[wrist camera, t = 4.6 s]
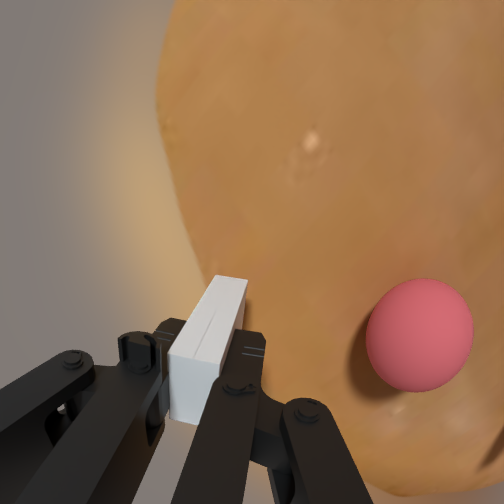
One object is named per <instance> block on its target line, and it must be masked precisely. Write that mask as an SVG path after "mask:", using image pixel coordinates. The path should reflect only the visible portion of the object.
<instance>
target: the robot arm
mask: <svg viewBox="0 0 504 504" xmlns="http://www.w3.org/2000/svg"><path fill="white" fill-rule="evenodd" d="M247 285H248V280H245V279H239V278H232V277H226V276H220V275H215V277H214V278H213V280H212V282H211V283H210V285H209V286H208V288H207V290H206V291H205V293H204V294H203V296H202V298H201V299H200V301H199V303H198V304H197V306H196V307H195V309H194V311H193V312H192V314H191V316H190V317H189V319H188V320H187V321H185V320H180V319H175V318H169V319H167V320H165V321H163V322H161V324H160V325H159V326H158V327H157V329H156V331H154V333H153V334H150V333H147V332H140V331H136V332H129V333H125V334H123V335H121V336H120V337H119V338H118V348H119V357H120V362H119V363H118V364H117V366H100V365H94V362H93V359H92V357H91V356H90V355H89V354H88V353H86V352H84V351H80V350H69V351H64V352H62V353H60V354H58V355H56V356H55V357H53V358H51V359H50V360H48V361H46V362H45V363H43V364H41V365H40V366H38V367H36V368H35V369H33V370H31V371H30V372H28V373H26V374H25V375H23V376H21V377H20V378H18V379H16V380H15V381H13V382H12V383H10V384H8V385H7V386H5V387H4V388H2V389H0V504H132V501H133V499H134V497H135V495H136V492H137V490H138V488H139V485H140V483H141V481H142V479H143V476H144V474H145V472H146V470H147V467H148V465H149V463H150V461H151V459H152V456H153V454H154V452H155V449H156V447H157V445H158V443H159V441H160V438H161V436H162V434H163V432H164V428H165V419H164V418H165V416H166V413H167V411H168V409H169V418H170V419H172V420H176V421H180V422H185V423H189V424H193V425H198V427H197V430H196V433H195V436H194V439H193V441H192V445H191V447H190V450H189V453H188V456H187V458H186V461H185V464H184V467H183V470H182V473H181V476H180V479H179V481H178V484H177V487H176V490H175V492H174V496H173V498H172V501H171V504H242V502H243V496H244V491H245V484H246V478H247V472H248V466H249V460H251V461H253V462H255V463H258V464H260V465H263V466H265V467H267V471H268V475H269V480H270V484H271V489H272V493H273V497H274V502H275V504H373V502H372V500H371V497H370V495H369V493H368V491H367V489H366V487H365V484H364V482H363V480H362V478H361V476H360V474H359V471H358V469H357V467H356V465H355V463H354V461H353V459H352V456H351V454H350V452H349V450H348V448H347V446H346V444H345V441H344V439H343V437H342V435H341V433H340V431H339V429H338V427H337V424H336V422H335V420H334V418H333V416H332V414H331V412H330V410H329V409H328V408H327V406H326V405H324V404H322V403H321V402H319V401H317V400H314V399H311V398H297V399H293V400H291V401H289V402H287V403H286V404H283V403H280V402H278V401H275V400H273V399H271V398H270V397H269V396H267V395H266V394H265V393H264V392H263V390H262V388H261V375H262V368H263V360H264V353H265V346H266V340H265V338H264V336H263V335H262V333H259V332H253V331H246V330H242V324H243V316H244V309H245V301H246V293H247ZM62 404H64V407H65V408H64V409H63V410H61V411H58V410H57V408H58V407H60V406H61V405H62Z"/></svg>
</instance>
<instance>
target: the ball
mask: <svg viewBox="0 0 504 504" xmlns="http://www.w3.org/2000/svg"><path fill="white" fill-rule="evenodd" d="M473 336H474V327H473V319H472V316H471V313H470V310H469V308H468V306H467V304H466V302H465V300H464V299H463V298H462V296H461V295H460V294H459V293H458V292H457V291H456V290H455V289H453V288H452V287H450V286H449V285H447V284H445V283H443V282H440V281H437V280H433V279H414V280H410V281H407V282H404V283H401V284H399V285H397V286H396V287H394V288H393V289H391V290H390V291H389V292H387V293H386V294H385V295H384V296H383V297H382V298H381V300H380V301H379V302H378V303H377V305H376V307H375V308H374V310H373V312H372V314H371V316H370V319H369V322H368V326H367V330H366V348H367V353H368V357H369V360H370V362H371V364H372V366H373V368H374V370H375V371H376V373H377V374H378V375H379V376H380V377H381V378H382V379H383V380H384V381H385V382H386V383H388V384H389V385H391V386H393V387H395V388H397V389H399V390H402V391H407V392H425V391H430V390H433V389H436V388H438V387H440V386H442V385H444V384H445V383H447V382H448V381H450V380H451V379H452V378H453V377H454V376H455V375H456V374H457V373H458V372H459V371H460V370H461V368H462V367H463V366H464V364H465V362H466V360H467V358H468V356H469V354H470V351H471V348H472V344H473Z"/></svg>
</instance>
